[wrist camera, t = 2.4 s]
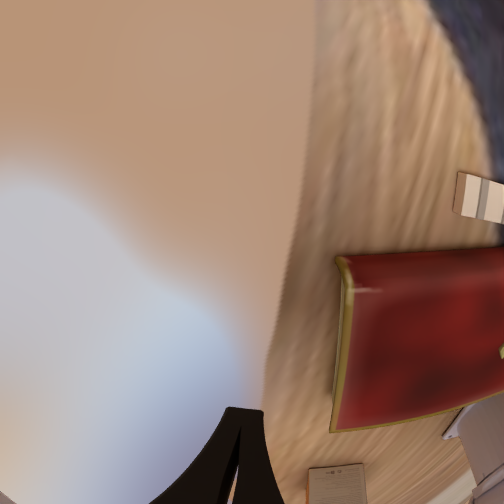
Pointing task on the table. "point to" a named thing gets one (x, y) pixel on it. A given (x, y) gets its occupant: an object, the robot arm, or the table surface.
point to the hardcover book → (417, 335)
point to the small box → (337, 485)
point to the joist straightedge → (479, 198)
